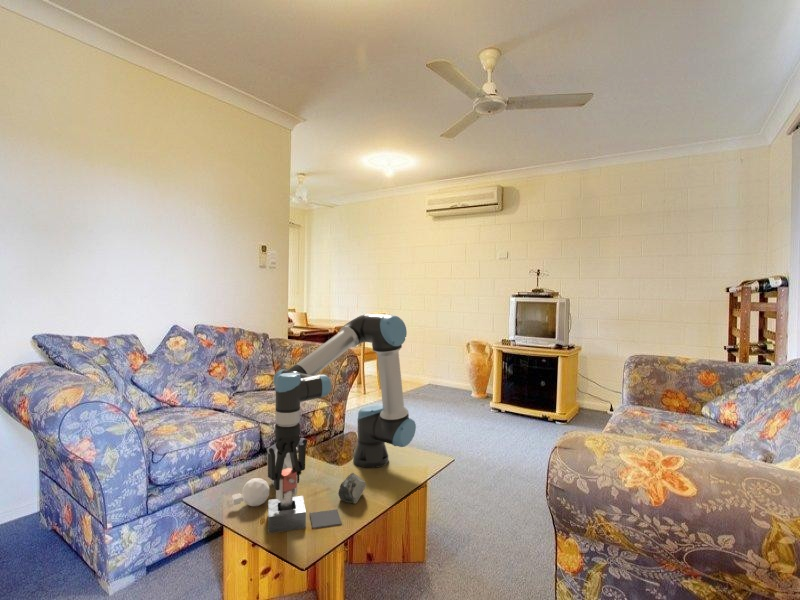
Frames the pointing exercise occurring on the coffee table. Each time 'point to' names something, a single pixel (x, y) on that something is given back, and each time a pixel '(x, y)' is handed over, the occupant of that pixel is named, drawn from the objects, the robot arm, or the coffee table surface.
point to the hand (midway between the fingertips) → (286, 496)
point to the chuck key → (288, 488)
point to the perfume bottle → (253, 493)
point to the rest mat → (325, 519)
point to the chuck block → (286, 515)
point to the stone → (351, 488)
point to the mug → (286, 462)
